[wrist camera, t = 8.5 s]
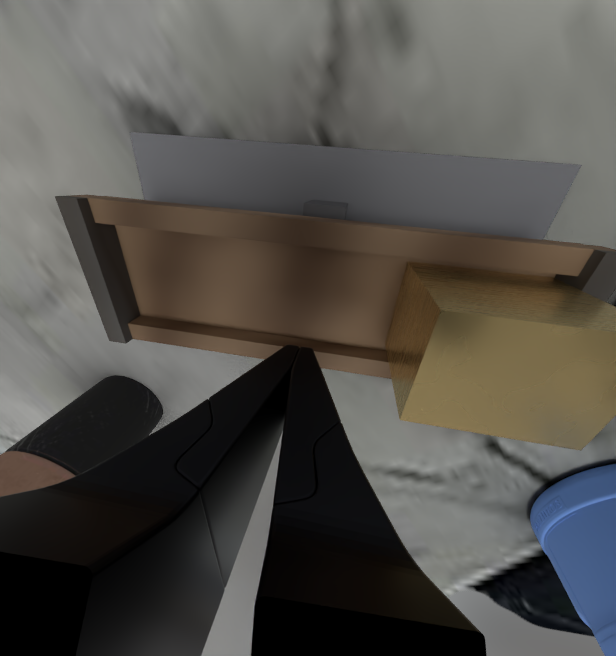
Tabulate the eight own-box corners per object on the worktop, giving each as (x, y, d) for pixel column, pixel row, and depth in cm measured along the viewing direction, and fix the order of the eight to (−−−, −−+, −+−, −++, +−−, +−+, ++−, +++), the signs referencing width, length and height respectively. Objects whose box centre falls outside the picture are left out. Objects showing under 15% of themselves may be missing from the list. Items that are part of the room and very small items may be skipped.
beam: (582, 241, 11) (639, 256, 9) (503, 373, 14) (530, 406, 12) (104, 193, 13) (54, 196, 11) (141, 320, 16) (109, 340, 14)
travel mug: (124, 427, 30) (-179, 749, 13) (83, 376, 27) (-400, 722, 10) (178, 424, 28) (-96, 799, 11) (140, 369, 25) (-337, 787, 8)
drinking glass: (242, 428, 27) (138, 656, 14) (298, 413, 24) (234, 673, 12) (275, 467, 29) (212, 690, 16) (329, 457, 27) (304, 710, 14)
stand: (569, 165, 13) (638, 160, 10) (467, 371, 19) (488, 407, 16) (139, 134, 15) (83, 121, 12) (179, 326, 22) (150, 351, 18)
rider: (554, 277, 11) (688, 341, 6) (505, 361, 13) (581, 450, 9) (407, 261, 11) (440, 310, 7) (384, 343, 14) (399, 419, 9)
